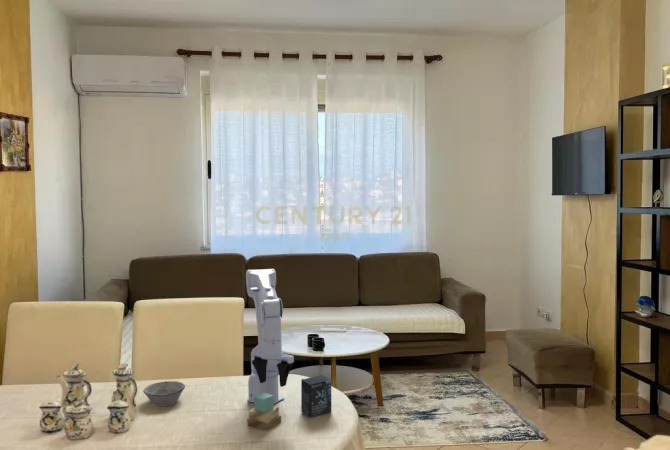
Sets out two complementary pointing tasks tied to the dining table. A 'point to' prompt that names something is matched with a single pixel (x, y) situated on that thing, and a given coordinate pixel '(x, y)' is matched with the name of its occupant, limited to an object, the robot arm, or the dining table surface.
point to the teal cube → (264, 402)
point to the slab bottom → (264, 425)
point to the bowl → (164, 392)
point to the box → (316, 396)
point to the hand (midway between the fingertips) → (272, 384)
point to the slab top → (263, 415)
